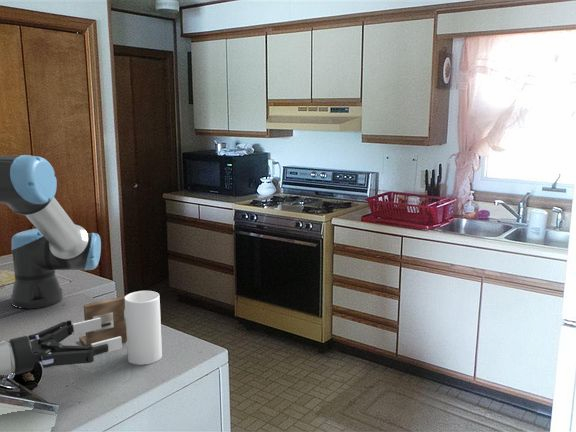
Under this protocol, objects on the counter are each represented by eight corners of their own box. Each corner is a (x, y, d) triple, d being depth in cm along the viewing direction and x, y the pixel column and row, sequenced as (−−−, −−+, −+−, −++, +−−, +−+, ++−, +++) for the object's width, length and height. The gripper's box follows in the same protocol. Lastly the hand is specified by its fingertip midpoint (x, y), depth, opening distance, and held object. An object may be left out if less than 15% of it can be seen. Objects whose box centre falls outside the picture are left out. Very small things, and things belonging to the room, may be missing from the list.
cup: (153, 366, 124) (150, 303, 121) (121, 363, 126) (118, 300, 123) (167, 351, 132) (165, 291, 129) (137, 348, 134) (134, 289, 131)
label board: (89, 352, 132) (86, 307, 129) (79, 340, 138) (76, 298, 136) (149, 335, 141) (147, 294, 139) (137, 326, 148) (134, 285, 145)
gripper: (1, 352, 120) (94, 329, 132) (25, 399, 100) (131, 367, 113) (-3, 322, 118) (92, 302, 131) (22, 363, 99) (129, 335, 112)
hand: (110, 332), depth 122 cm, fingers open, 13 cm apart
